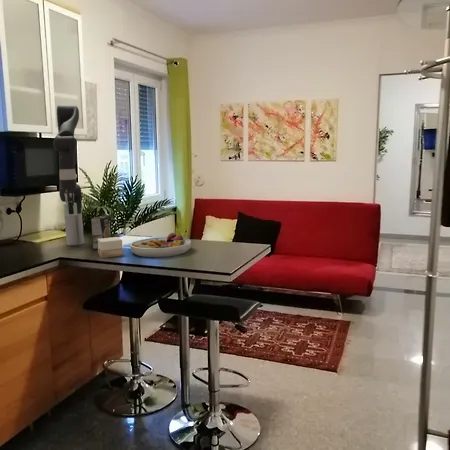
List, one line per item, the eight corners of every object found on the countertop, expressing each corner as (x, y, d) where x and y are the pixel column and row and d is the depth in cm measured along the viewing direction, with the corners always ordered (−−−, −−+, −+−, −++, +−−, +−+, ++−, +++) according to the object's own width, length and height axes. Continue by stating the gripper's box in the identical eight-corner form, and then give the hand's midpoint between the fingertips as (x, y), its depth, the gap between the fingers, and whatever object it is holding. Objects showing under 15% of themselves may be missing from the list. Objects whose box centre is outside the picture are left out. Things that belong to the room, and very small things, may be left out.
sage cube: (64, 214, 227) (63, 203, 226) (76, 213, 230) (75, 202, 229) (65, 216, 222) (64, 204, 222) (77, 215, 225) (76, 203, 224)
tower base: (98, 254, 231) (97, 246, 230) (118, 252, 234) (118, 244, 234) (101, 258, 221) (101, 250, 221) (122, 256, 225) (122, 248, 225)
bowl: (174, 260, 212) (174, 243, 211) (118, 257, 223) (117, 241, 221) (200, 247, 240) (200, 232, 239) (149, 245, 250) (149, 231, 249)
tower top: (98, 246, 230) (97, 238, 230) (118, 244, 234) (117, 236, 234) (101, 250, 221) (100, 242, 221) (122, 248, 225) (122, 239, 225)
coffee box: (104, 248, 243) (102, 218, 240) (92, 248, 244) (90, 218, 242) (111, 245, 252) (109, 216, 249) (100, 245, 253) (98, 216, 251)
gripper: (77, 178, 218) (80, 214, 221) (74, 177, 231) (77, 211, 234) (61, 179, 215) (63, 215, 218) (58, 178, 228) (61, 212, 231)
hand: (70, 213), depth 226 cm, fingers closed on sage cube, 5 cm apart
